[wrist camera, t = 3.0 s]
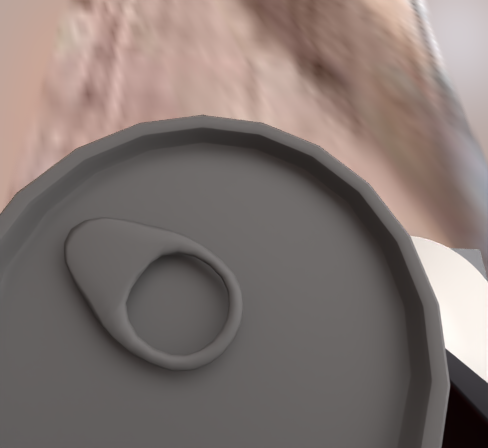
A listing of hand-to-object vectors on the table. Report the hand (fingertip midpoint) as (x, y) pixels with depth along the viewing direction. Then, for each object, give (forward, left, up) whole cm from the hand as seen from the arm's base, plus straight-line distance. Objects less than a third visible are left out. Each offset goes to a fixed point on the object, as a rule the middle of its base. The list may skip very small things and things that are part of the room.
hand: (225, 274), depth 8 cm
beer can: (-1, 0, -7) cm, 7 cm away
